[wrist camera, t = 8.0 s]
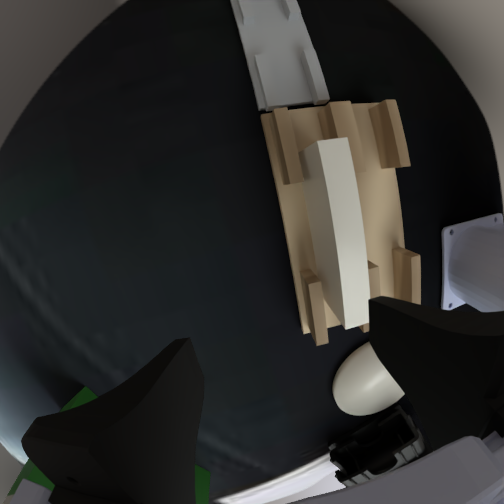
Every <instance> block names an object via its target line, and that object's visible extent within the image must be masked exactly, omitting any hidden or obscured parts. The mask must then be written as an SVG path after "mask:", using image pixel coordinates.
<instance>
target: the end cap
mask: <svg viewBox="0 0 504 504" xmlns="http://www.w3.org/2000/svg"><path fill="white" fill-rule="evenodd" d="M328 446H329V449H330V450H331V452H330V457H331V459H330V461H331V462H332V463H333V464H334V465H335V466H337V467H338V468H339V469H340V471H339V470H337V471H335V473H336V475H335V477H336V478H337V479H338V481H339V482H341V483H342V484H344V485H345V486H346V488H347V487H350V486H353V485H356V484H359V483H362V482H365V481H368V480H371V479H373V478H376V477H379V476H381V475H384V474H387V473H389V472H391V471H394V470H396V469H399V468H401V467H403V466H405V465H408V464H410V463H412V462H414V461H416V460H418V459H420V458H422V457H424V456H426V455H428V454H430V453H432V452H433V450H432V448H431V447H430V445H429V444H428V442H427V441H426V439H425V438H424V436H423V435H422V433H421V432H420V430H419V429H418V427H417V426H416V424H415V423H414V421H413V420H412V419H411V417H410V415H409V414H406V413H405V412H404V411H403V410H402V408H401V406H400V405H399V404H398V403H395V404H393V405H391V406H390V407H388V408H387V409H385V410H384V411H382V412H381V413H379V414H378V415H376V416H374V417H373V418H371V419H370V420H368V421H366V422H365V423H363V424H361V425H360V426H358V427H356V428H354V429H353V430H351V431H349V432H347V433H345V434H344V435H342V436H340V437H338V438H336V439H334V440H332V441H331V442H329V443H328Z"/></svg>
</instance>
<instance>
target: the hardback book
mask: <svg viewBox="0 0 504 504" xmlns="http://www.w3.org/2000/svg"><path fill="white" fill-rule="evenodd" d="M96 398H98V396H96V395H95V394H94V393H93V392H92V391H91V390H90V389H88V388H87V387H86V386H85V387H84V388H83V389H82V390H81V391H80V392H79V393H78V394H77V395H76V396H74V397H73V398H72V399H71V400H70V401H69V402H68V403H67V404H66V405H65V406H64V407H63V408H62V409H61V410H60V412H62V411H66V410H69V409H72V408H75V407H77V406H80V405H82V404H85V403H87V402H89V401H92V400H94V399H96ZM22 479H27V480H30V481H32V482H34V483H37V484H39V485H42V486H44V487H46V488H48V489H49V490H51V491H53V489H54V487H55V485H54V484H53V483H52V482H51V481H50V480H49V479H48V478H47V477H46V476H45V475H44V474H43V473H42V472H41V471H40V470H39V469H38V468H37V467H36V466H35V464H34V463H33V462H32V461H31V460H30V459H28V461H27V462H26V464H25V466H24V467H23V469H22V471H21V472H20V474H19V476H18V478H17V479H16V481H15V483H14V484H13V486H12V488H11V490H10V491H9V493H8V495H7V497H6V499H5V501H4V502H3V504H9V503H10V502H11V500H12V498H13V496H14V494H15V492H16V490H17V488H18V487H19V485H20V483H21V481H22ZM209 485H210V472H209V471H207V470H205V469H203V468H201V467H199V466H197V465H196V464H195V495H196V504H208V499H209Z"/></svg>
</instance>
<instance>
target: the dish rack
mask: <svg viewBox="0 0 504 504" xmlns="http://www.w3.org/2000/svg"><path fill="white" fill-rule="evenodd" d="M260 118H261V122H262V126H263V130H264V135H265V139H266V144H267V148H268V153H269V157H270V162H271V167H272V171H273V176H274V181H275V185H276V190H277V195H278V200H279V205H280V210H281V215H282V220H283V225H284V230H285V235H286V241H287V246H288V251H289V257H290V262H291V268H292V273H293V279H294V285H295V291H296V296H297V302H298V308H299V314H300V321H301V327H302V331H303V333H304V334H305V333H309V332H311V334H312V336H313V338H314V340H315V343H316V345H317V346H318V345H322V344H326V343H328V334H327V328H329V327H333V326H336V325H340V324H341V322H340V321H339V320H338V318H337V317H336V315H335V314H334V313H333V311H332V310H331V309H330V307H329V306H328V304H327V303H326V302H325V300H324V299H323V293H322V285H321V281H320V280H319V278H318V274H317V267H316V261H315V254H314V248H313V242H312V236H311V230H310V225H309V219H308V214H307V208H306V203H305V198H304V193H303V187H302V182H304V179H303V174H302V170H301V165H300V160H299V156H298V152H300V151H302V150H303V149H305V148H306V147H308V146H310V145H311V144H313V143H315V142H316V141H321V140H328V139H336V138H345V137H347V138H348V142H349V147H350V151H351V156H352V161H353V166H354V171H355V177H356V182H357V188H358V194H359V200H360V206H361V213H362V220H363V227H364V235H365V243H366V253H367V263H368V274H369V287H370V299H372V298H375V297H379V296H387V297H392V298H396V299H400V300H404V301H408V302H412V303H416V304H420V303H421V266H420V255H419V254H416V253H414V252H412V251H409V250H407V249H405V246H404V234H403V223H402V214H401V206H400V198H399V191H398V184H397V178H396V172H395V168H397V167H407V166H410V160H409V155H408V150H407V145H406V140H405V135H404V131H403V127H402V123H401V119H400V115H399V111H398V107H397V103H396V100H384V101H382V102H381V103H360V104H351V102H350V101H340V102H329V103H328V104H327V105H326V106H320V107H310V108H302V109H294V110H288V108H287V107H284V108H277V109H273V111H272V113H267V114H261V117H260ZM359 327H360V329H361V330H362V331H363V332H367V331H369V323H366V324H363V325H360V326H359Z"/></svg>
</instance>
